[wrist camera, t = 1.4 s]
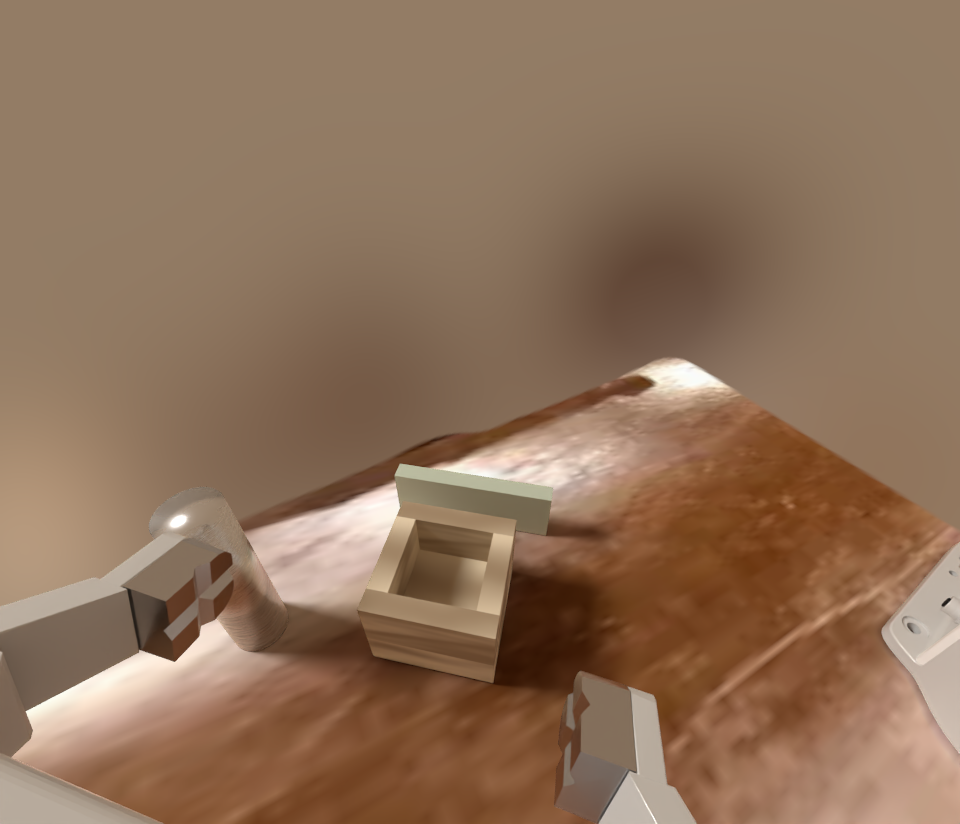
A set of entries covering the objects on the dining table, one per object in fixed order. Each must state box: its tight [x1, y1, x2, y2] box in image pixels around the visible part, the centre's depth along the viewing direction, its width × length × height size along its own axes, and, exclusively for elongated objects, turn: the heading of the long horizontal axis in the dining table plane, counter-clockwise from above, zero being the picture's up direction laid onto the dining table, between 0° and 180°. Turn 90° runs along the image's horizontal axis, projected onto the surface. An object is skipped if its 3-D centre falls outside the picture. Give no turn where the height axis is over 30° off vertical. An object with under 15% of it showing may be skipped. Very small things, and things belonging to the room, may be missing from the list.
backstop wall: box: [395, 464, 553, 536], centre depth 42 cm, size 2×14×5 cm, turn 78°
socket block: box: [357, 501, 517, 683], centre depth 34 cm, size 9×9×7 cm
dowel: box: [149, 487, 288, 651], centre depth 31 cm, size 4×4×14 cm
